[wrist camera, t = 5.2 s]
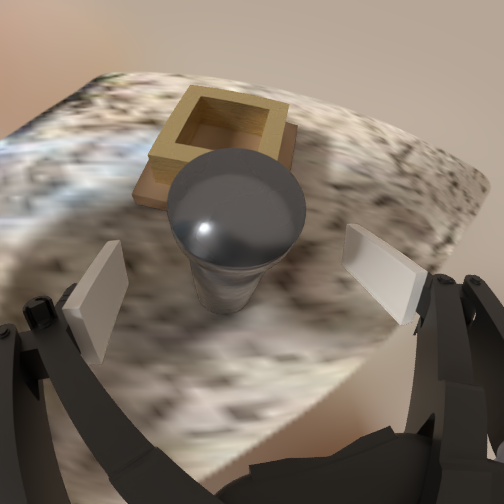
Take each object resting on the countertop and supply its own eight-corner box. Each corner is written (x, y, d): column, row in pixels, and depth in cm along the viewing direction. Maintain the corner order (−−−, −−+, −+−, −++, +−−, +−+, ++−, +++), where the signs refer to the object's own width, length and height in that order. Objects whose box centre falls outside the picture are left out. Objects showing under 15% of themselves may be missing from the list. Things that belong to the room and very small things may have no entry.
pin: (184, 310, 20) (146, 246, 8) (200, 250, 21) (192, 137, 10) (249, 326, 20) (295, 283, 9) (262, 265, 22) (311, 166, 11)
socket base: (135, 203, 22) (131, 194, 21) (183, 112, 27) (182, 101, 25) (275, 237, 23) (279, 228, 21) (294, 135, 27) (297, 125, 26)
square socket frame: (154, 182, 21) (147, 154, 18) (191, 112, 25) (190, 84, 22) (264, 207, 22) (272, 181, 19) (281, 130, 25) (289, 104, 22)
